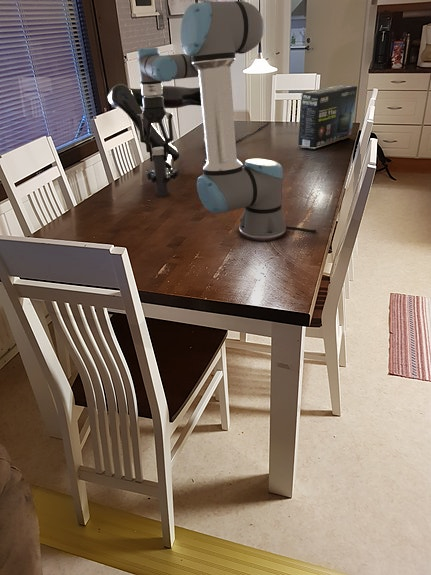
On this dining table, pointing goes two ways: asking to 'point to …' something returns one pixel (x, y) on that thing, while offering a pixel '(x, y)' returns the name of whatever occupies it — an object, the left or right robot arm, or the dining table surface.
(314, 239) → the dining table surface
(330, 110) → the router box
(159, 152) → the lid
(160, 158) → the dark grey column
